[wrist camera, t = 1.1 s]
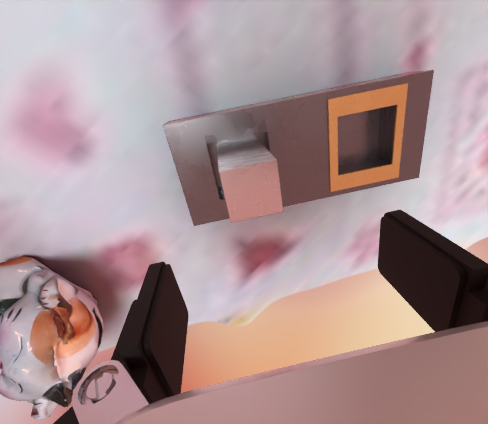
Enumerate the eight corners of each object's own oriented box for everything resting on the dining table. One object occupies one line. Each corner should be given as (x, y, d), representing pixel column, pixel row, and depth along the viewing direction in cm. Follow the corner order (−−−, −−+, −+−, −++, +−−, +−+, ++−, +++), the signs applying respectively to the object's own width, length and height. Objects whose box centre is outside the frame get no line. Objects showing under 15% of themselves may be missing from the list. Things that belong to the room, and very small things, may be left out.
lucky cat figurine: (-23, 240, 27) (-82, 310, 16) (103, 244, 34) (123, 295, 23) (-37, 366, 29) (-99, 507, 18) (86, 345, 36) (96, 436, 25)
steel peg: (216, 145, 25) (219, 171, 17) (255, 137, 25) (276, 159, 17) (224, 182, 27) (230, 222, 19) (261, 175, 27) (283, 211, 19)
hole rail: (168, 121, 24) (162, 125, 21) (409, 72, 25) (435, 70, 22) (195, 213, 29) (194, 226, 26) (399, 169, 29) (420, 178, 26)
